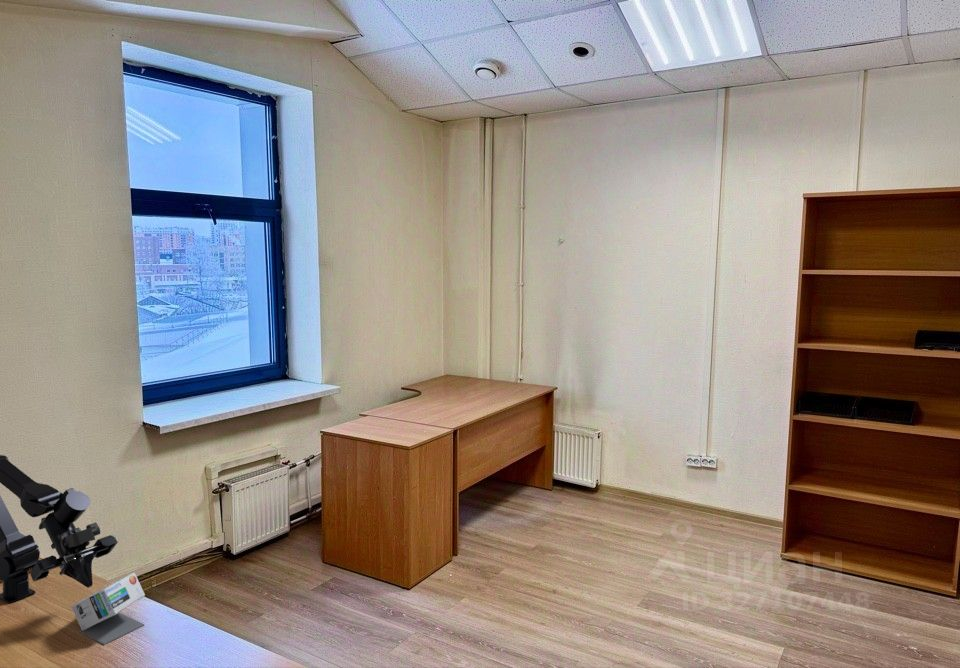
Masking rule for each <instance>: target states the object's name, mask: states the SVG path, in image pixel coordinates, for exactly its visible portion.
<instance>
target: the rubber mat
mask: <svg viewBox="0 0 960 668" xmlns="http://www.w3.org/2000/svg"><path fill="white" fill-rule="evenodd" d="M142 627H145V624H144V623H142V622H141V621H139V620H136V619H133V618H132V617H129V616H127V615H126V614H123V613H121V612H119V613H117V614H116V615H114V616H112V617H110V618H107V619H105V620H103V621H101V622H99V623H97V624H95V625H93V626H91V627H89V628H87V629H85V630H83V631H82V629H80V630H79V633H80V634H81V635H84V636H86V637H88V638H90V639H92V640H93V641H95V642H97V643H98V644H99V643H100V644H101V645H103V646H106V645H109V643H112V642H114V641H116V640H118V639H120V638H121V637H122V638H123V637H125V636H126V635H128V634H130V633H133V632H134V631H136V630H138V629H140V628H142Z"/></svg>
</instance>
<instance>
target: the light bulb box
mask: <svg viewBox="0 0 960 668" xmlns="http://www.w3.org/2000/svg"><path fill="white" fill-rule="evenodd" d="M138 579H139V578H138V576H137V574H136V573H135V572H133V573H131V574H128V575H126V576H125V577H123V578H120V579H118V580H117V581H114V582H113V583H111V584H109V585H107V586H105V587H103V588H101V589H100V590H97V591H96V592H95V593H92V594H90V595H89V596H87V597H85V598H84V599H81V600H80V601H77V602H76V603H74V604H73V605H71V609H72V611H73V613H74V616H75V618H76V620H77V623H78V625H79V627H80V630H82V631H83V630H85V629H87V628H89V627H91V626H93V625H95V624H97V623H99V622H101V621H103V620H105V619H107V618H110V617H112V616H114V615H116V614H118V613H121V612H122V611H123V610H125V609H126V608H128V607H129V606H131V605H132V604H134V603H135V602H137V601H139V600H140V599H143V598H144V597H145V596H146V593H145V591H144V590H143V588H142V585H141V583H140V581H139V580H138Z"/></svg>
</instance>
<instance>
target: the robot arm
mask: <svg viewBox="0 0 960 668" xmlns="http://www.w3.org/2000/svg"><path fill="white" fill-rule="evenodd" d="M0 484H1V485H2V486H3V487H5V488H6V489H8V490H9V492H11V493H12V494H14V495H15V496H16V497H17V499H19V502H20V507H21V508H22V509H23V510H24V511H25V512H26V514H27V515H28V516H30V517H31V518H37V517H41V516H44V515H46V514H47V515H46V516H44V517H41V521H40V523H39V525H38V529H39V530H40V531H41V530H43V529H45V531H46V533H47V534H48V535H47V536H48V537H49V538H50V539H49V540H50V541H51V543H52V544H51V545H50V547H51V549H52V550H54V549H55V550H56V553H57V554H58V558H57V557H56V556H55V555H50V556H47V557H44V558H42V559H40V555H41V552H40V550H39V549H40V548H39V545H38V544H37V543H36V541H35V539H34V536H33V535H31V534H27V535H25V534H23V533H21V532H20V531H19V529H18V527H17V525H16V523H15V521H14V519H13V517H12V515H11V514H10V512H9V510H8V508H7V506H6V504H5V502H4V500H3V498H2V496H1V495H0V581H1V583H2V592H1V593H0V600H1V601H4V602H5V603H8V604H12V603H13V602H16V601H19V600H21V599H24V598H27V597H30V596H31V595H34V594H36V590H35V589H32V588H30V579H29V574H30V577H31V579H32V582H37V581H40V580H42V579H46V578H47V577H48V576H49V573H50V571H51V570H53V569H56V568H59V569H60V571H59V575H60V576H62V575H65V576H67V577H68V578H71V579H73V580H75V581H76V582H78V583H79V584H81V585H82V586H84V587H86V588H88V589H89V588H92V586H93V585H94V584H93V570H92V568H93V567H92V566H93V565H92V564H93V560H94V558H97V559H98V558H100V557H104V556H106V555H108V554H110V553H111V552H112V551H113V549H115V547H116V545H117V544H118V543H119V542H118V540H117V539H116V536H114V535H111V534H109V535H106V536H104V537H100V538H99V539H97V540H96V536H99V535H101V529H100V525H98V523H97V522H96V521H95V522H93V523H90V524H86V526H85V529H83V530H81V528H80V527H76V526H75V524H74V523H75V522H77V520H78V519H79V518H80V517H81V516H82V515H83V514H84V513H85V512H86V510H88V508H89V507H90V506H91V498H90V496H89V495H88V494H86V493H84V492H82V491H80V490H79V491H78V490H75V489H74V487H71V488H68V489H65V491H63V492H60V491H59V490H58V489H57V488H55V487H53V486H51V485H49V484H45V483H39V482H38V481H37V482H36V481H35V480H33V479H32V478H31V477H30V476H29V475H27V474H26V473H24V471H22V469H19V468H18V467H17V466H16V465H15V464H13V463H11V462H10V461H9V458H8V457H7V456H6V455H3V454H0ZM95 540H96V541H95ZM92 541H95V542H94V544H93V545H91V546H89V545H90V544H91V542H92ZM87 546H89V547H87ZM29 571H30V573H29Z"/></svg>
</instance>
